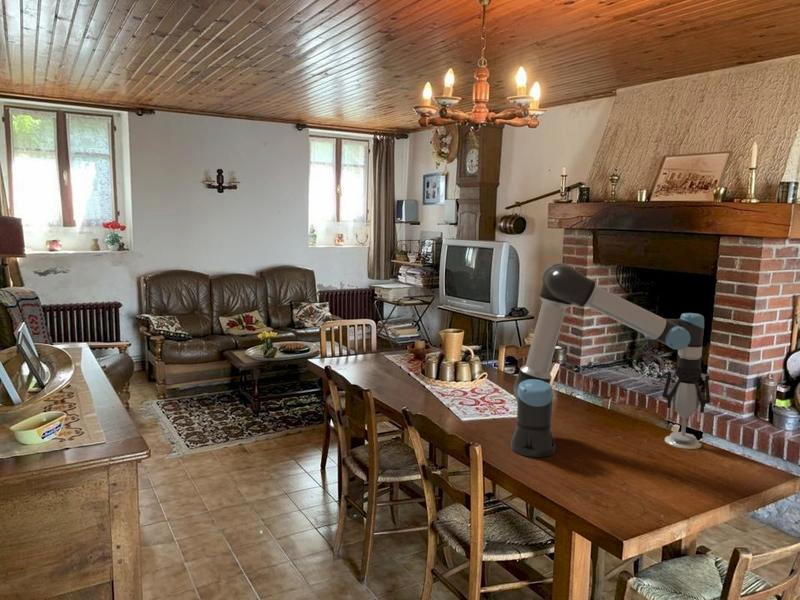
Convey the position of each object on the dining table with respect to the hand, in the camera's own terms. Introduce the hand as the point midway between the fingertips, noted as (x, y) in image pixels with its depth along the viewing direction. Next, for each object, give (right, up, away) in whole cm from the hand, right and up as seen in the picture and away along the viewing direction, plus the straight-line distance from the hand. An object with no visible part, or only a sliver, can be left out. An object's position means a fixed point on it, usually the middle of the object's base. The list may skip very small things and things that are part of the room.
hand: (684, 418), depth 214 cm
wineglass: (0, -7, +1) cm, 7 cm away
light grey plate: (0, -9, +1) cm, 9 cm away
